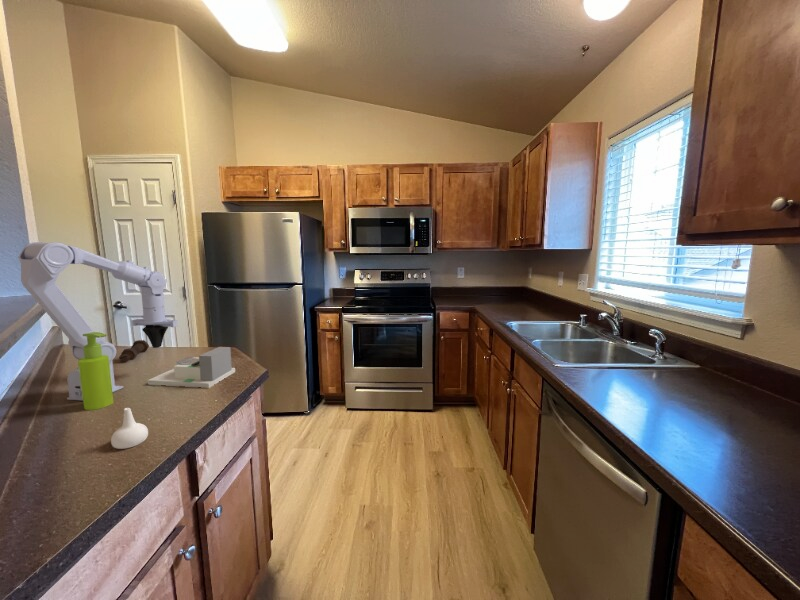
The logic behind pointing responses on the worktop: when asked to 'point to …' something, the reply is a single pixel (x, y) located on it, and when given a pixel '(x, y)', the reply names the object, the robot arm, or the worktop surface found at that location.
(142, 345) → the bolt
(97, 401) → the soap dispenser
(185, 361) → the grey block with bar
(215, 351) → the architectural block model
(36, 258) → the robot arm
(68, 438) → the worktop surface
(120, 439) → the garlic bulb
